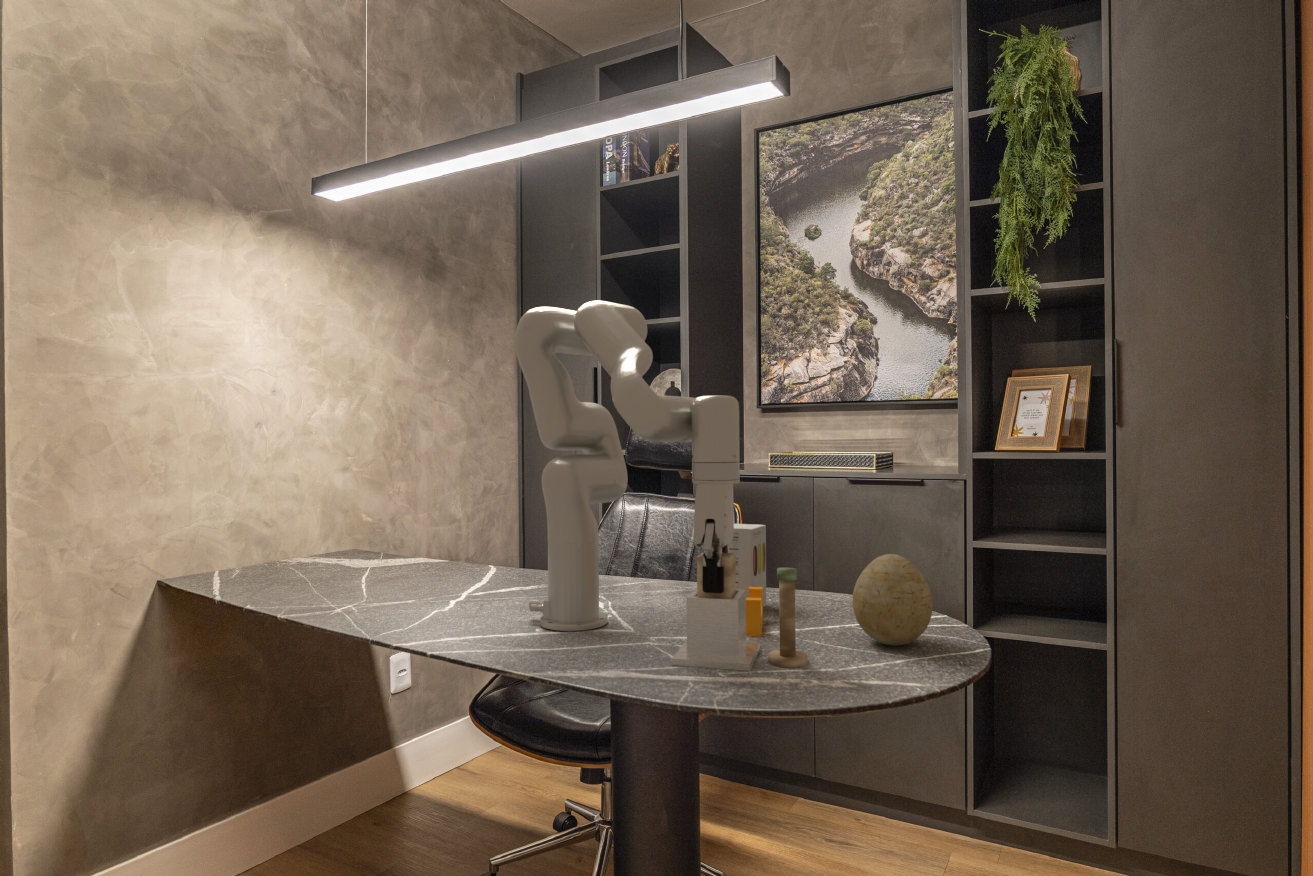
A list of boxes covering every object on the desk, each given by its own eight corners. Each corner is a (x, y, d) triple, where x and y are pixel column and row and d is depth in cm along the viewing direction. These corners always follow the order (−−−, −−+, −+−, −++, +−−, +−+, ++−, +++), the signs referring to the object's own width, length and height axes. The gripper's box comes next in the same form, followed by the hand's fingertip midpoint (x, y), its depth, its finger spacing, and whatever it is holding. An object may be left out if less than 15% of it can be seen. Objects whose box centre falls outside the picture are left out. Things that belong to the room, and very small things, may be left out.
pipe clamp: (740, 620, 143) (739, 586, 143) (763, 621, 142) (762, 587, 143) (735, 636, 131) (735, 599, 131) (760, 637, 131) (760, 600, 131)
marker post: (765, 666, 113) (765, 571, 113) (770, 655, 119) (769, 565, 119) (806, 668, 112) (805, 573, 112) (808, 657, 118) (808, 566, 118)
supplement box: (752, 615, 146) (752, 529, 146) (708, 611, 150) (708, 527, 150) (767, 605, 155) (766, 524, 155) (725, 601, 159) (724, 522, 159)
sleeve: (671, 665, 114) (670, 599, 114) (688, 644, 126) (687, 584, 126) (750, 671, 111) (749, 603, 111) (760, 649, 123) (759, 587, 123)
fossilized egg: (872, 630, 134) (872, 546, 134) (944, 642, 126) (943, 553, 126) (839, 645, 124) (838, 555, 124) (914, 660, 116) (914, 562, 116)
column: (696, 653, 116) (695, 557, 116) (703, 644, 122) (702, 551, 122) (731, 656, 115) (730, 558, 115) (737, 646, 120) (736, 552, 120)
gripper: (703, 471, 128) (704, 578, 128) (680, 476, 111) (681, 598, 111) (747, 471, 126) (748, 580, 126) (730, 476, 109) (731, 601, 109)
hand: (716, 587), depth 118 cm, fingers closed on column, 5 cm apart
